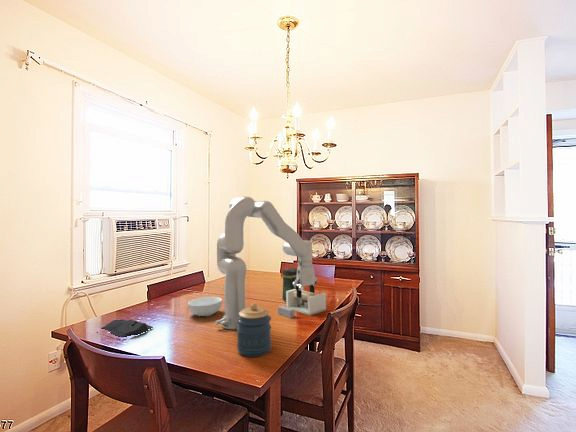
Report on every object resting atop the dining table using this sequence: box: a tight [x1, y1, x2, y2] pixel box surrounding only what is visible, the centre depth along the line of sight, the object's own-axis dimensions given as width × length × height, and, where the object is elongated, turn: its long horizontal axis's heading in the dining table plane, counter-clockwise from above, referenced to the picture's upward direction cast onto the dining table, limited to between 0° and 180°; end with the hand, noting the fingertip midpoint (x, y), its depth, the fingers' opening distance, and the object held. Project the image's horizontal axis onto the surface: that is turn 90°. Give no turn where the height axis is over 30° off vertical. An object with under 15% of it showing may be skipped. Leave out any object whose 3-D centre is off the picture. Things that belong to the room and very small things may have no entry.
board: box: [293, 290, 318, 302], centre depth 167 cm, size 6×13×2 cm, turn 41°
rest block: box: [277, 305, 295, 319], centre depth 158 cm, size 3×9×4 cm, turn 41°
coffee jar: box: [281, 267, 297, 302], centre depth 186 cm, size 10×8×19 cm
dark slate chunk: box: [100, 318, 154, 337], centre depth 140 cm, size 15×22×5 cm
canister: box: [236, 302, 272, 358], centre depth 119 cm, size 13×13×18 cm
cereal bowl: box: [187, 296, 223, 317], centre depth 161 cm, size 17×17×7 cm
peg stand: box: [285, 286, 327, 316], centre depth 167 cm, size 12×18×9 cm, turn 41°
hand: (305, 295), depth 167 cm, fingers open, 9 cm apart
